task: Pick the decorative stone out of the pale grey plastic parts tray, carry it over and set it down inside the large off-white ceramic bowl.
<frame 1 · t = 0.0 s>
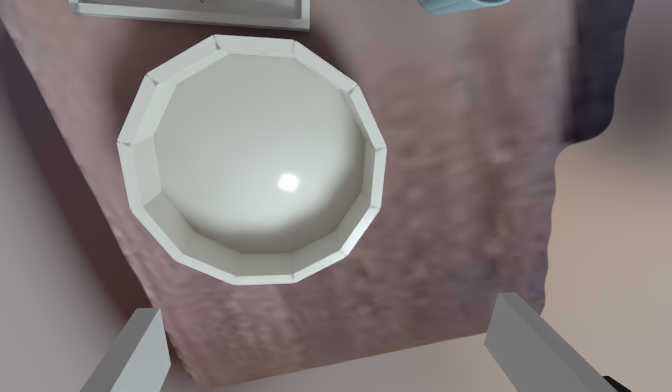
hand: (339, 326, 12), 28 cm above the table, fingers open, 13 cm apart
bowl: (265, 163, 38), on the table
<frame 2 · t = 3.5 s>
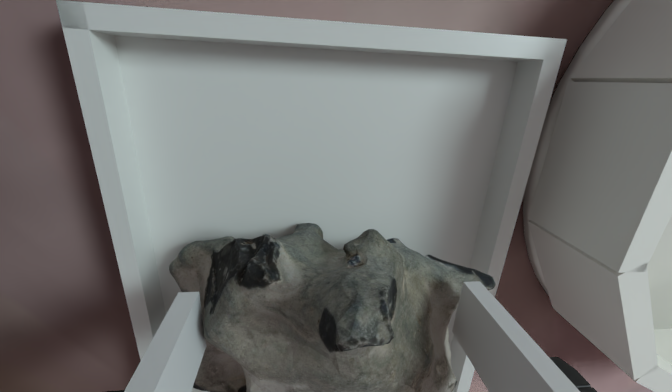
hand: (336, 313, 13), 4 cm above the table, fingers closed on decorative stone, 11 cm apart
decorative stone: (317, 266, 17), resting on tray, touching gripper
tray: (324, 254, 17), on the table
when the fingers open (6 cm above the table, at t = 9.8 s): decorative stone drops 1 cm, resting on bowl.
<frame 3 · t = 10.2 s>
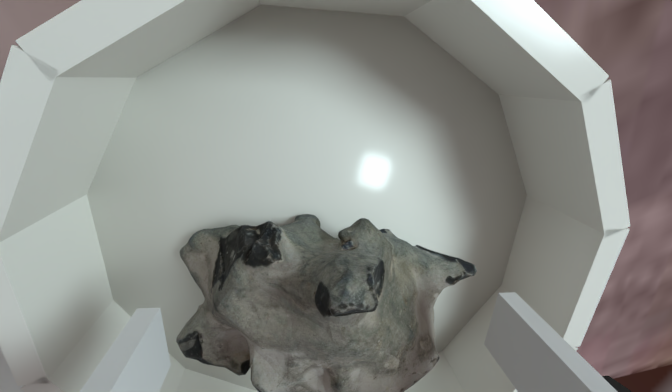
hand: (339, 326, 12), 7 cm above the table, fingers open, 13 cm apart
bowl: (323, 238, 19), on the table
decorative stone: (315, 254, 18), point 1 cm above the table, touching bowl
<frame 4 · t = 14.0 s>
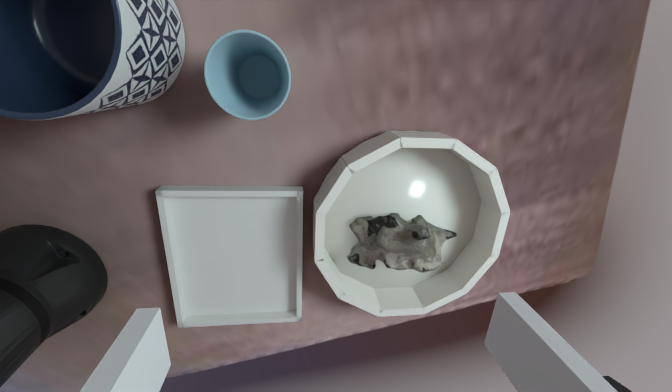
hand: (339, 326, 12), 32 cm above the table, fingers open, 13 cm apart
planter: (112, 31, 34), on the table
bowl: (399, 217, 47), on the table
decorative stone: (394, 229, 47), point 1 cm above the table, touching bowl
tray: (239, 255, 46), on the table
cup: (260, 77, 38), on the table
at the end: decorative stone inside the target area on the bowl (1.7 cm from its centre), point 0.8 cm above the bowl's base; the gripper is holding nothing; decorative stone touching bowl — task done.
